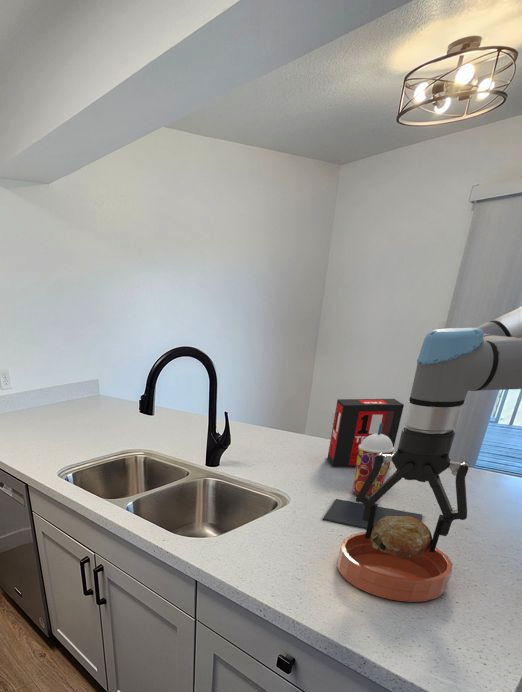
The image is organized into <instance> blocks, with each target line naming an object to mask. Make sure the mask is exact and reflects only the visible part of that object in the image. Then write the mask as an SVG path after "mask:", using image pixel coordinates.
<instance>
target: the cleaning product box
mask: <svg viewBox="0 0 522 692" xmlns="http://www.w3.org/2000/svg"><path fill="white" fill-rule="evenodd" d="M404 407H405V404H403V403H402V402H400V401H399V400H397V399H395V398H346V399H345V398H338V399H337V401H336V406H335V413H334V416H333V417H334V418H333V424H332V430H331V437H330V441H329V447H328V451H327V452H328V453H327V460H328V463H330V465H331V467H332V468H355V469H356V464H357V456H358V449H359V444H361V442H362V441H363V440H364V439H365V438H366V437H368V436H369V435H372V434H376V433H378V430H379V426H380V423H382V424H383V426H382V430H381V434H384V435H386V436H387V437H389V438H390V440H391V441H392V444H393V447H394V448H395V445H396V440H397V437H398V436H397V435H398V432H399V427H400V423H401V420H402V415H403V411H404ZM390 465H391V463H390V464H389V467H388V469H389V468H390Z"/></svg>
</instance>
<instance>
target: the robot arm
mask: <svg viewBox="0 0 522 692" xmlns="http://www.w3.org/2000/svg"><path fill="white" fill-rule="evenodd" d="M420 347H421V348H420V350H419V353H418V354H419V355H418V357H417V359H416V367H415V373H414V378H413V383H412V387H411V390H410V391H411V392H410V395H409V400H408V402H407V407H406V410H405V415H404V420H403V425H404V427H403V428H402V429H401V433H400V436H399V442H398V445H397V449H396V451H395V453H393V454H384V453H383V452H379V453H378V454H377V455H376V457H375V462H374V468H373V469H372V471H371V473H370V475H369V476H368V478H367V480H366V481H365V483H364V485H363V487H362V488H361V490H360V492H359V493H358V495H356V497H355V501H356V503H362V504H364V505H365V509H364V514H363V520H364V521H368V525H367V529H366V530H365V532H366V534H365V538H368V539H369V538H370V535H371V530H372V528H373V524H374V520H375V515H376V511H377V506H378V507H379V503H377V502H378V501H379V500H380V499H381V498H383V496H384V495H385V494H386V493H387V492H389V491H390V490H391V489H392V488H393V487H394V486H395V485H396V484H397V483H399V482H400V481H401V480H402V479H404V480H406V481H417V482H420V483H426V482H428V484H429V487H430V488H431V490H432V492H433V494H434V497H435V500H436V502H437V504H438V507H439V509H440V511H441V513H439V516H438V518H437V522H436V525H435V528H434V532H433V535H432V543H431V546H430V550H429V552H433V553H434V552H435V548H437V545H438V542H439V538H440V536H442V537H447V536H448V535H449V532H450V530H451V529H450V528H451V526H452V523H453V521H455V520H460V521H464V520H467V519H468V502H467V501H468V500H467V499H468V498H467V485H466V484H467V483H466V476H467V474H468V471H469V466H470V464H469V461H466V460H464V461H461V462H459V461H453V460H451V459H450V452H451V449H452V445H453V442H454V438H455V435H456V432H455V431H454V430H455V429H457V428H458V425H459V422H460V418H461V415H462V412H463V408H464V404H465V400H466V399H467V394H468V392H478V391H503V390H507V391H508V390H522V306H520V307H518V308H516V309H514V310H511V311H510V312H507V313H505V314H503V315H501V316H499V317H496V318H494V319H492V320H490V321H488V322H485V323H483V324H481V325H478V326H476V327H447V328H445V327H444V328H438V329H433V330H431V331H429V332H428V333H426V335H425V336H424V339H423V342H422V344H421V346H420ZM388 462H390V463H391V462H392V464H393V466H394V467H395V469H396V470H395V471H394V472H393V473H392V474H391V475H390V476H389V477H388V478H387V479H386V480H384V483H383V484H382V485H381V486H380V487H379V488H378V489H377V490H376V491H375V492H374V493H373V494H372V495H371V496H370V497H369V496H367V495H366V494H367V492H368V490H369V488H370V487H371V485H372V483H373V482H374V480H375V478H376V477H377V475H378V473H379V472H380V470H381V468H382V466H386V465H387V464H388ZM447 469H450V470H451V474H452V476H454V477H455V494H456V495H455V496H456V506H457V509H453V507H452V505H451V502H450V500H449V497H448V495H447V493H446V491H445V488H444V485H443V483H442V480H441V477H440V474H442V473H443V472H445V471H446V470H447Z"/></svg>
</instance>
